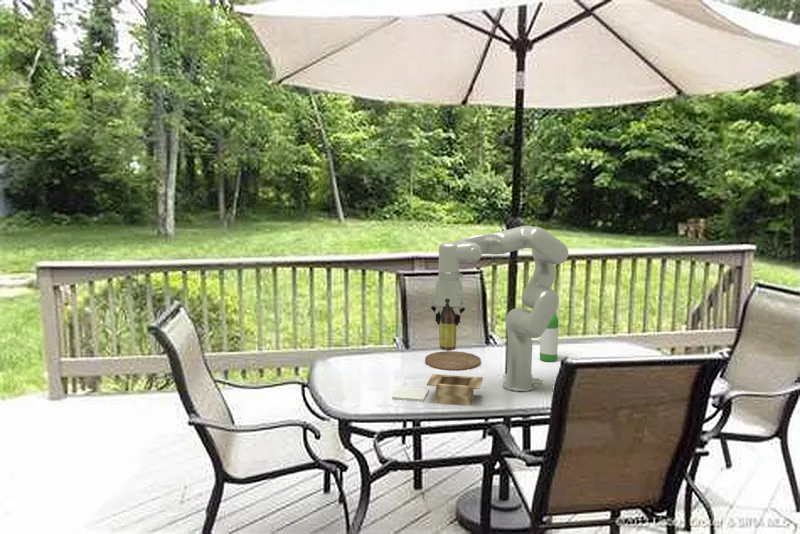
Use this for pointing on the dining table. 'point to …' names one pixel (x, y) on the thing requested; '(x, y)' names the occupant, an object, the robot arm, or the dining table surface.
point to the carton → (454, 388)
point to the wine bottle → (549, 341)
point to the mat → (410, 394)
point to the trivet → (452, 360)
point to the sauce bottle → (447, 328)
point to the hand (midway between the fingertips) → (447, 323)
